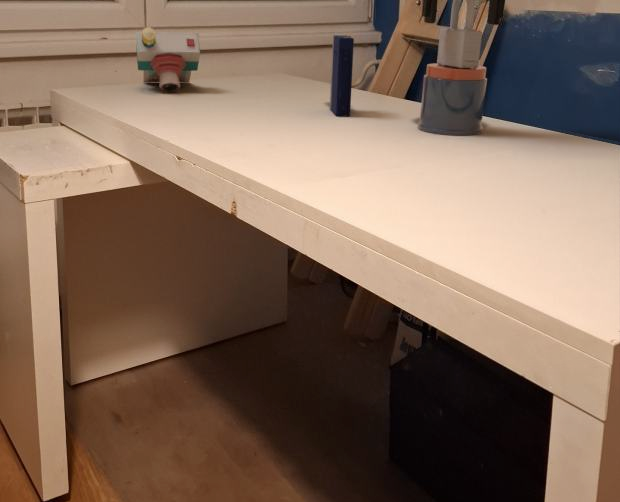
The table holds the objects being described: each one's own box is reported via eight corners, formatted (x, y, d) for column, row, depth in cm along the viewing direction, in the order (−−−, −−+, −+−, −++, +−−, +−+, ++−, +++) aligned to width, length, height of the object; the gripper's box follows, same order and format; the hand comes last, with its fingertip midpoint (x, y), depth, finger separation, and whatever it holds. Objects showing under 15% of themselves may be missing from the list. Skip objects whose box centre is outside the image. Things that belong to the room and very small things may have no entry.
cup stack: (469, 123, 119) (476, 63, 115) (492, 135, 111) (501, 70, 107) (409, 123, 118) (414, 62, 114) (428, 135, 109) (434, 69, 105)
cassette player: (350, 116, 122) (354, 36, 117) (336, 116, 122) (339, 36, 116) (343, 109, 129) (346, 33, 123) (329, 109, 128) (332, 32, 123)
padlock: (433, 63, 112) (440, -11, 108) (456, 63, 114) (464, -10, 109) (457, 69, 107) (465, -10, 102) (481, 68, 108) (491, -9, 103)
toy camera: (140, 116, 151) (140, 71, 132) (136, 73, 152) (136, 22, 133) (196, 116, 154) (204, 72, 134) (192, 73, 154) (199, 23, 135)
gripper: (422, -124, 95) (410, 23, 103) (550, -117, 98) (529, 26, 106) (405, -117, 102) (395, 20, 110) (526, -111, 105) (508, 23, 112)
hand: (461, 23), depth 108 cm, fingers open, 9 cm apart
